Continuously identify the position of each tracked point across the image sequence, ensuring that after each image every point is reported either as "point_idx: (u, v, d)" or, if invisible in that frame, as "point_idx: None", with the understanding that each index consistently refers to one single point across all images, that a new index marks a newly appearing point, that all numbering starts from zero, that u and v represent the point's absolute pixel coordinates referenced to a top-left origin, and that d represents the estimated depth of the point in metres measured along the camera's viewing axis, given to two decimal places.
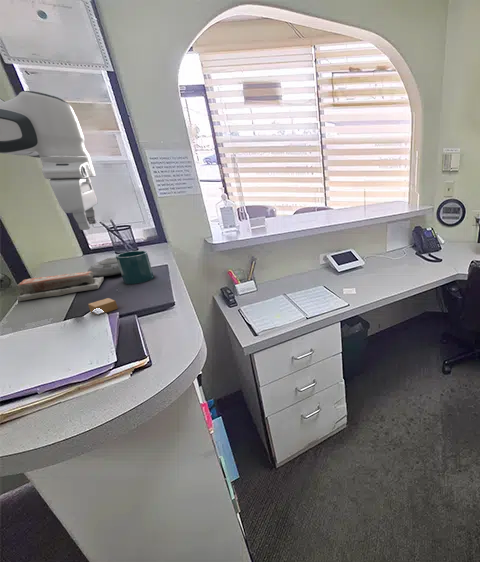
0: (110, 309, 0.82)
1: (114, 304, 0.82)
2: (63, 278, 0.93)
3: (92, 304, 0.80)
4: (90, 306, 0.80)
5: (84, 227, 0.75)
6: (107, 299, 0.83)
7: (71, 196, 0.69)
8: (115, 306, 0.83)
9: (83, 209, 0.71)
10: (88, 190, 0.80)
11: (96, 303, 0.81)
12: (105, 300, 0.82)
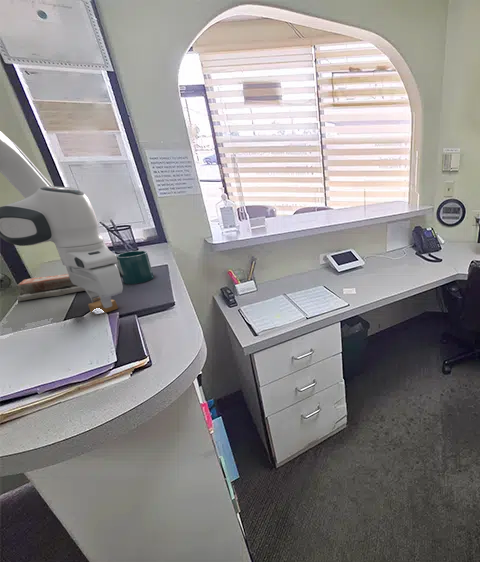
0: (110, 309, 0.82)
1: (114, 304, 0.82)
2: (63, 278, 0.93)
3: (92, 304, 0.80)
4: (90, 306, 0.80)
5: (108, 305, 0.80)
6: None
7: (114, 281, 0.75)
8: (115, 306, 0.83)
9: None
10: None
11: (96, 303, 0.81)
12: None
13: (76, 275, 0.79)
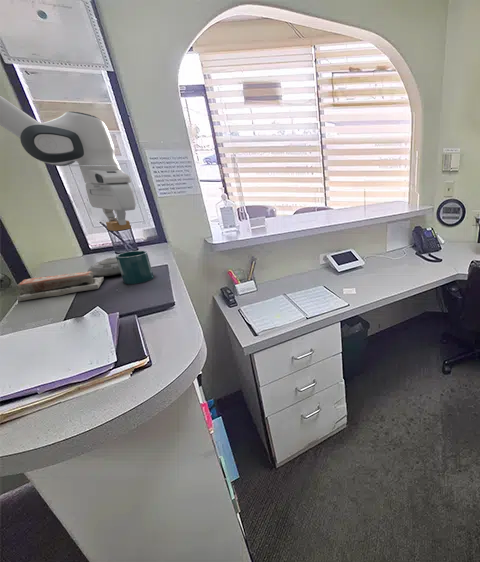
0: (124, 227, 0.94)
1: (128, 223, 0.95)
2: (63, 278, 0.93)
3: (109, 222, 0.93)
4: (107, 223, 0.93)
5: (123, 222, 0.92)
6: None
7: (128, 197, 0.87)
8: (129, 226, 0.95)
9: None
10: None
11: (112, 221, 0.93)
12: None
13: (95, 196, 0.92)
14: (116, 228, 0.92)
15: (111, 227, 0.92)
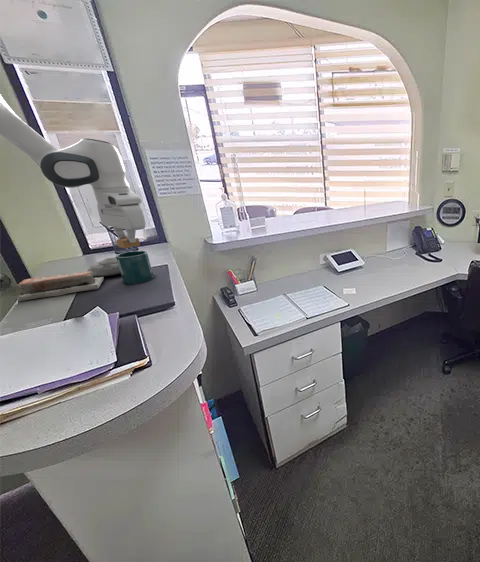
0: (134, 245, 1.00)
1: (137, 241, 1.00)
2: (63, 278, 0.93)
3: (120, 239, 0.98)
4: (118, 241, 0.98)
5: (132, 240, 0.98)
6: None
7: (138, 217, 0.93)
8: (138, 243, 1.01)
9: (144, 226, 0.95)
10: None
11: (122, 239, 0.99)
12: None
13: (107, 215, 0.97)
14: (126, 245, 0.98)
15: (122, 245, 0.98)
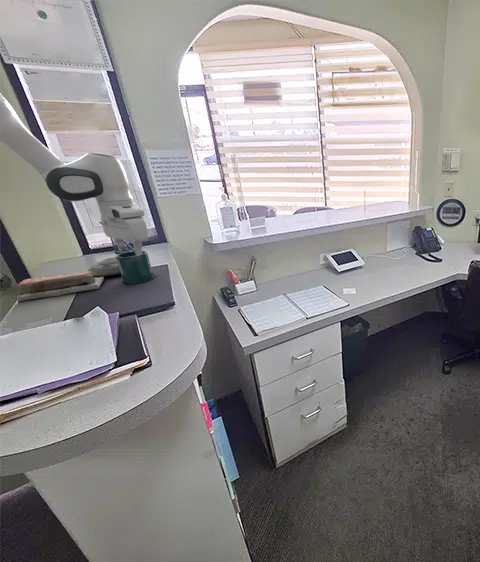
0: None
1: None
2: (63, 278, 0.93)
3: None
4: None
5: (139, 252, 0.98)
6: None
7: (142, 229, 0.94)
8: None
9: (147, 238, 0.96)
10: None
11: None
12: None
13: (110, 227, 0.98)
14: None
15: None
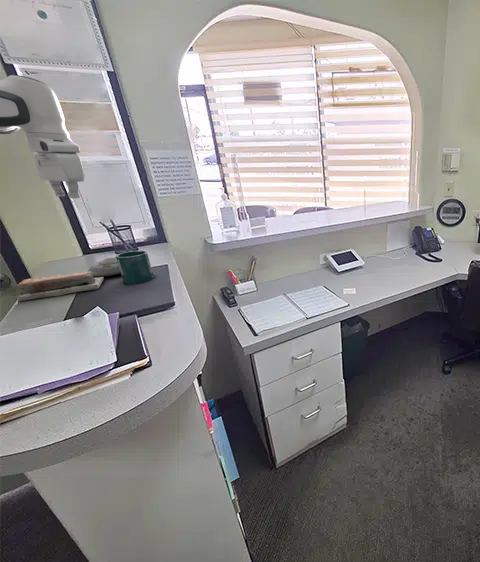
0: None
1: None
2: (63, 278, 0.93)
3: None
4: None
5: (75, 196, 0.88)
6: None
7: (76, 167, 0.83)
8: None
9: (83, 179, 0.86)
10: None
11: None
12: None
13: (44, 167, 0.88)
14: None
15: None
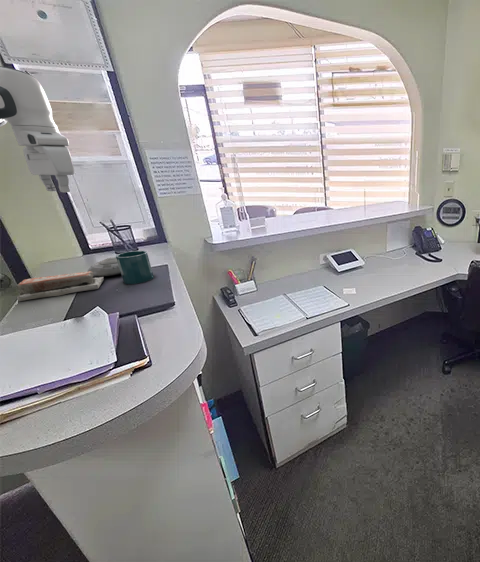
0: None
1: None
2: (63, 278, 0.93)
3: None
4: None
5: (65, 190, 0.87)
6: None
7: (65, 160, 0.82)
8: None
9: (73, 172, 0.85)
10: None
11: None
12: None
13: (33, 161, 0.87)
14: None
15: None
